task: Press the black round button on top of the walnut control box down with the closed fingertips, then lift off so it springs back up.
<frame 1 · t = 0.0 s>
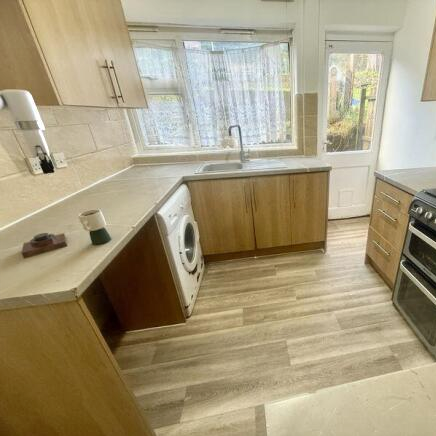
hand: (49, 171, 99), 26 cm above the countertop, tool pointing down, fingers open, 9 cm apart
button: (41, 237, 93), point 4 cm above the countertop, slide at 0.1 cm
character mug: (102, 242, 97), on the countertop
button box: (46, 247, 95), on the countertop
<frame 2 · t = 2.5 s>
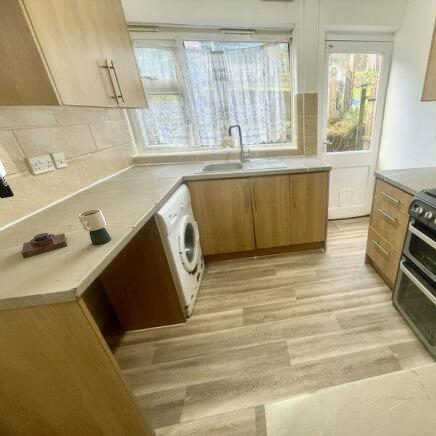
hand: (7, 196, 86), 21 cm above the countertop, tool pointing down, fingers closed
nothing on the countertop moved.
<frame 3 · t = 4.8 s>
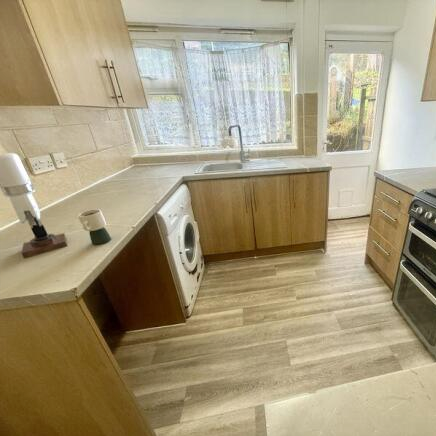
hand: (41, 235, 93), 5 cm above the countertop, tool pointing down, fingers closed
button: (42, 237, 93), point 4 cm above the countertop, slide at -0.3 cm, touching gripper
everything else where it was.
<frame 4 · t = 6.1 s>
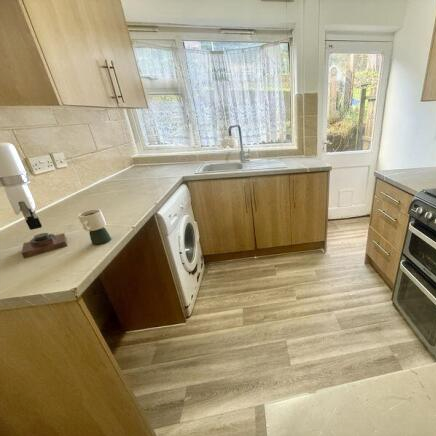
hand: (36, 227, 91), 8 cm above the countertop, tool pointing down, fingers closed
button: (41, 237, 93), point 4 cm above the countertop, slide at 0.1 cm
everything else where it was.
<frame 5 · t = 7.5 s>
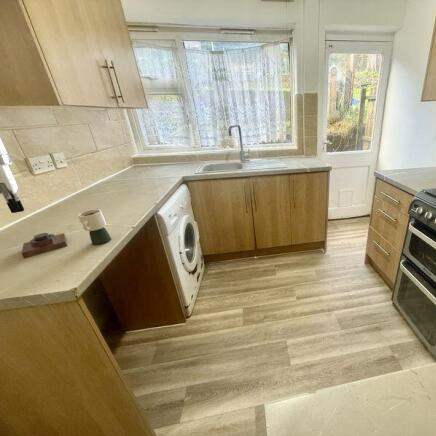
hand: (18, 211, 89), 15 cm above the countertop, tool pointing down, fingers closed
nothing on the countertop moved.
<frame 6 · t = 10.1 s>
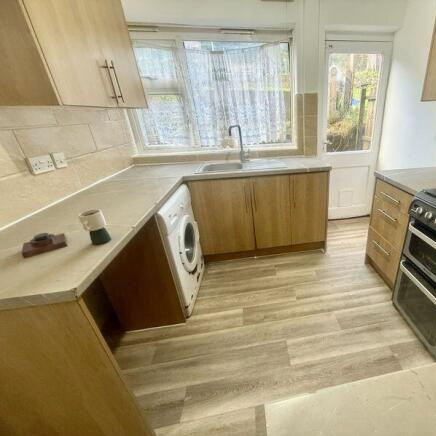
nothing on the countertop moved.
at the end: button pushed in 1.1 cm at the most during the clip, back to where it started at the end; button slide at 0.1 cm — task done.
